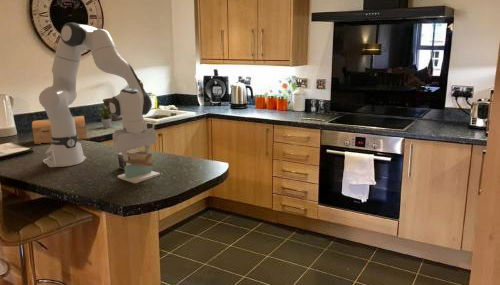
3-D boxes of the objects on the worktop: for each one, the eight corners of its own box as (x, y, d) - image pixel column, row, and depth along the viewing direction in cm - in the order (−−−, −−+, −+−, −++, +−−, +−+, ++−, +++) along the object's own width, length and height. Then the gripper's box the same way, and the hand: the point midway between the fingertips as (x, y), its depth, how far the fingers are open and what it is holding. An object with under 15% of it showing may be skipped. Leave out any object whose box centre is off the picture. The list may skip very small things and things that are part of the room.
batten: (144, 167, 177) (143, 156, 176) (123, 161, 187) (122, 150, 186) (152, 165, 180) (151, 153, 179) (130, 159, 190) (129, 148, 189)
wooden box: (86, 134, 280) (83, 114, 276) (87, 139, 265) (84, 117, 261) (36, 140, 269) (33, 118, 266) (34, 145, 254) (30, 123, 251)
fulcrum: (117, 177, 184) (116, 164, 183) (142, 170, 194) (141, 157, 192) (135, 183, 176) (133, 169, 174) (160, 175, 185) (159, 162, 184)
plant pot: (123, 120, 325) (120, 100, 321) (102, 121, 325) (99, 100, 321) (128, 117, 341) (126, 97, 337) (108, 117, 340) (106, 98, 337)
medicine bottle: (119, 167, 200) (116, 143, 197) (132, 164, 204) (130, 140, 202) (126, 170, 195) (123, 145, 192) (140, 167, 199) (137, 142, 197)
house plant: (106, 130, 291) (103, 106, 287) (91, 129, 296) (88, 106, 293) (121, 126, 303) (118, 103, 299) (106, 125, 309) (104, 103, 305)
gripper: (116, 131, 170) (120, 164, 173) (157, 123, 185) (160, 153, 188) (107, 130, 174) (111, 162, 177) (148, 121, 189) (151, 151, 192)
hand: (137, 157), depth 183 cm, fingers open, 8 cm apart
